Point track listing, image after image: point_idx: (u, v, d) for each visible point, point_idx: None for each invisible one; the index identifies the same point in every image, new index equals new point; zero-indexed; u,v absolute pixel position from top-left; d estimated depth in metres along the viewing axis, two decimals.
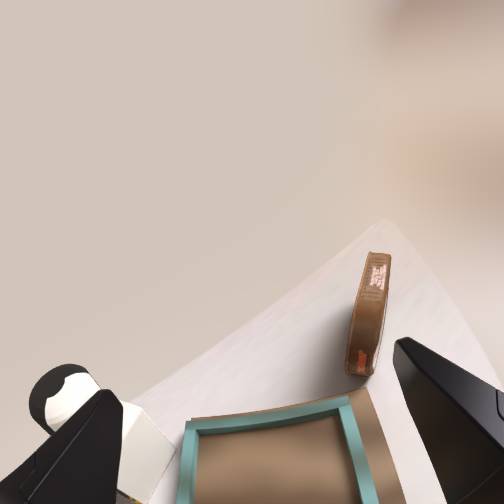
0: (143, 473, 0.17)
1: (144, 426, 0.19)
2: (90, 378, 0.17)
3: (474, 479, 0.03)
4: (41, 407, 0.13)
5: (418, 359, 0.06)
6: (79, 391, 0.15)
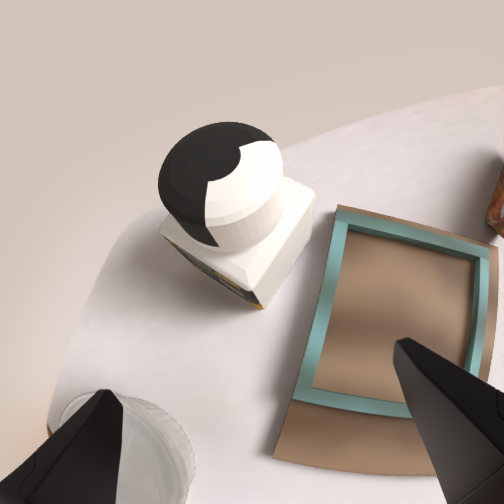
0: (282, 272, 0.20)
1: (308, 215, 0.18)
2: (278, 150, 0.13)
3: (473, 479, 0.03)
4: (197, 198, 0.12)
5: (418, 359, 0.06)
6: (270, 173, 0.12)
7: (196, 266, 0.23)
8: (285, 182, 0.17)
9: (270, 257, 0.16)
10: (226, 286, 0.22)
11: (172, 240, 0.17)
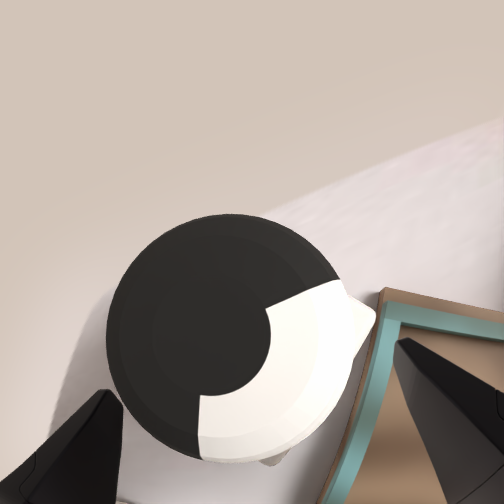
0: None
1: None
2: (346, 298, 0.06)
3: (474, 479, 0.03)
4: (180, 424, 0.05)
5: (418, 359, 0.06)
6: (334, 373, 0.05)
7: None
8: None
9: None
10: None
11: None
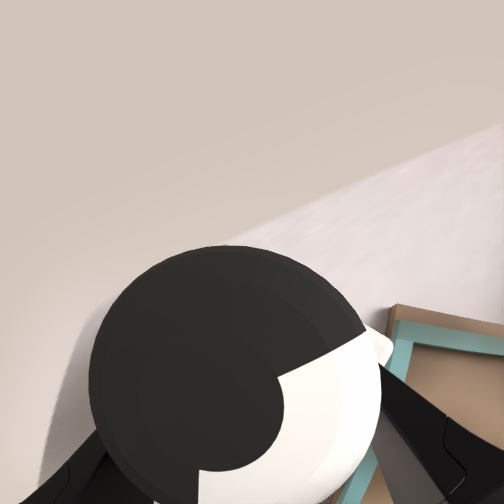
0: None
1: None
2: (373, 352, 0.05)
3: None
4: (177, 495, 0.04)
5: None
6: (356, 443, 0.04)
7: None
8: None
9: None
10: None
11: None
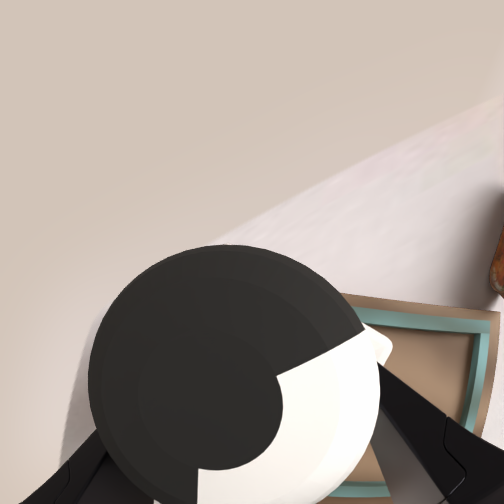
0: None
1: None
2: (372, 351, 0.05)
3: None
4: (177, 493, 0.04)
5: None
6: (355, 442, 0.04)
7: None
8: None
9: None
10: None
11: None
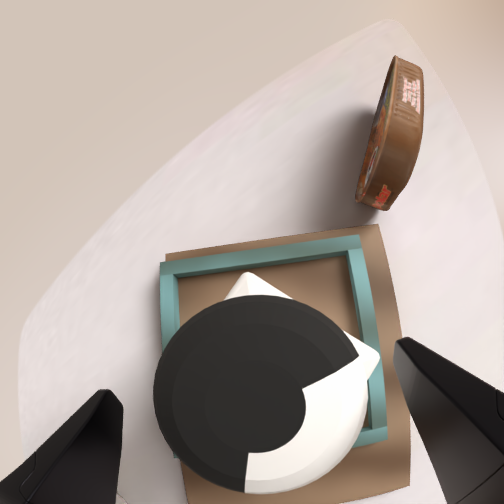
0: None
1: None
2: (363, 370, 0.07)
3: (474, 479, 0.03)
4: (231, 472, 0.06)
5: (418, 359, 0.06)
6: (351, 430, 0.06)
7: None
8: None
9: None
10: None
11: None
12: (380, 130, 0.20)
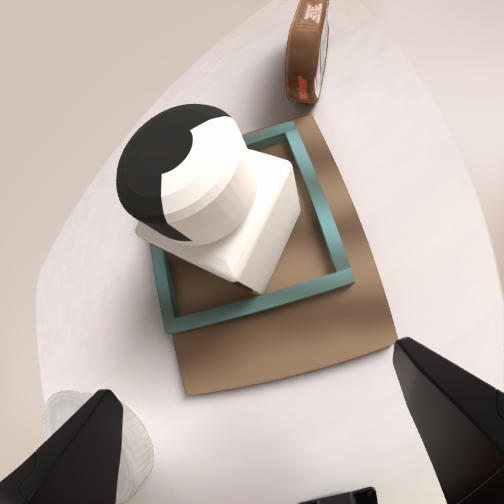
0: (272, 254, 0.19)
1: (289, 188, 0.16)
2: (236, 125, 0.12)
3: (474, 479, 0.03)
4: (152, 194, 0.11)
5: (418, 359, 0.06)
6: (227, 151, 0.11)
7: None
8: (256, 157, 0.15)
9: (251, 241, 0.15)
10: None
11: (149, 240, 0.16)
12: None
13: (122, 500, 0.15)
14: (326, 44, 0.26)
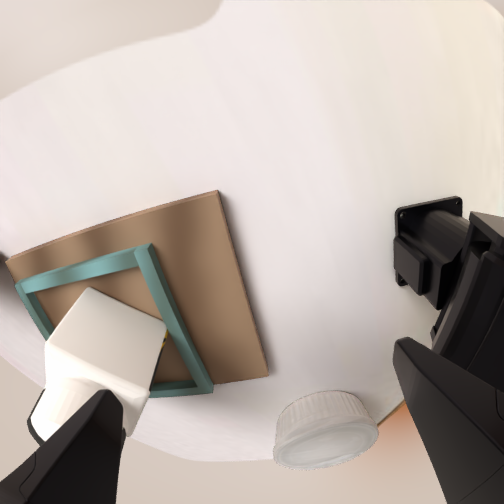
0: (127, 330, 0.18)
1: (67, 335, 0.15)
2: (34, 416, 0.10)
3: (473, 479, 0.03)
4: None
5: (418, 359, 0.06)
6: None
7: None
8: (50, 366, 0.14)
9: (115, 381, 0.14)
10: None
11: (133, 430, 0.17)
12: None
13: (371, 426, 0.23)
14: None
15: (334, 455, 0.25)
